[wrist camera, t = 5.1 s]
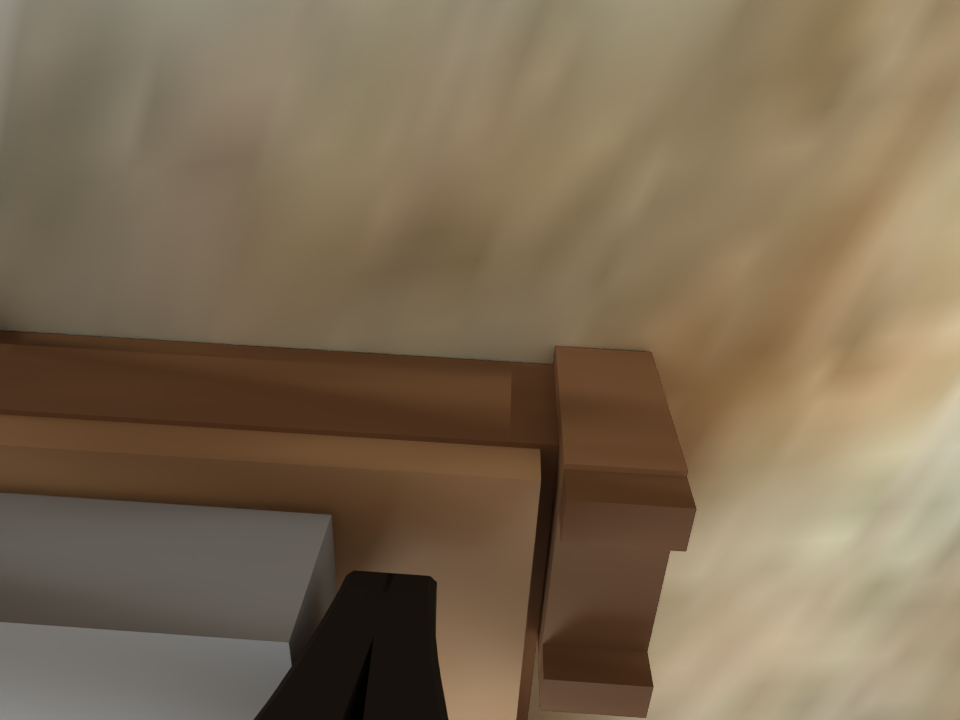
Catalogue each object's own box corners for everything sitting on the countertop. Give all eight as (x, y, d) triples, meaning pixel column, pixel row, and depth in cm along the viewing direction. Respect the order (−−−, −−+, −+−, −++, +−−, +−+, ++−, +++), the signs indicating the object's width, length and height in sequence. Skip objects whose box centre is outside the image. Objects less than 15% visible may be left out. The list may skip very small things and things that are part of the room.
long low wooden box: (565, 834, 22) (573, 1016, 18) (-280, 768, 23) (-437, 932, 19) (651, 352, 14) (697, 502, 10) (-666, 271, 15) (-1074, 385, 11)
